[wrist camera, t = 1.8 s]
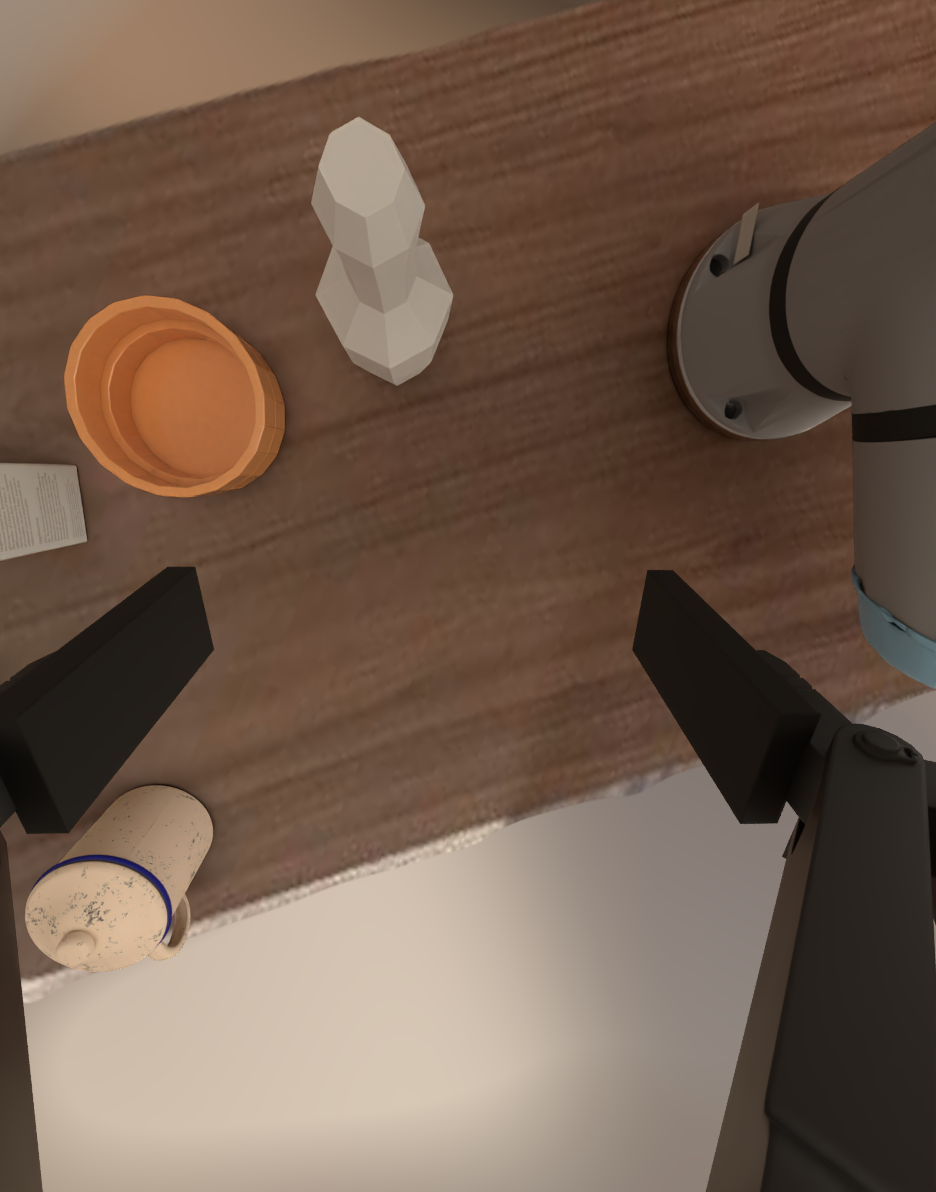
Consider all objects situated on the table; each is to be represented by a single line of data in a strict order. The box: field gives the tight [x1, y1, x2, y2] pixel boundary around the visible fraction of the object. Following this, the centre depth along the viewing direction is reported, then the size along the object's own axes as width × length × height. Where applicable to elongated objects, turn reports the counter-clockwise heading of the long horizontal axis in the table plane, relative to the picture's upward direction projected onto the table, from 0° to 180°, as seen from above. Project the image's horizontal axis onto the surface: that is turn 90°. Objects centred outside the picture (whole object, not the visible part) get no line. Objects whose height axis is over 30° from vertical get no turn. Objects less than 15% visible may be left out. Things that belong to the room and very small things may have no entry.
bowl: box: [64, 295, 285, 497], centre depth 33 cm, size 11×11×6 cm
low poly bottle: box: [311, 117, 453, 386], centre depth 25 cm, size 6×6×22 cm
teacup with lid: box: [25, 785, 213, 972], centre depth 37 cm, size 12×9×12 cm
